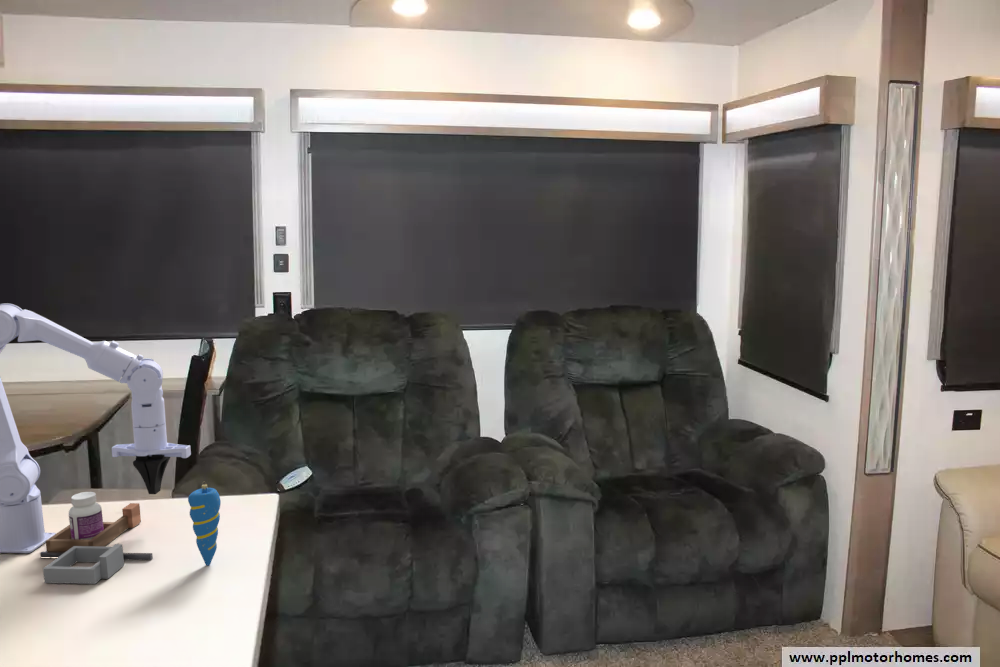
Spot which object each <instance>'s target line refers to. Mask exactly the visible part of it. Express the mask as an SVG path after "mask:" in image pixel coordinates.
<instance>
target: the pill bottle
mask: <svg viewBox="0 0 1000 667" xmlns="http://www.w3.org/2000/svg"><path fill="white" fill-rule="evenodd" d="M70 499H71V500H70V501H71V505H72V507H70V509H68V510H69V511H68V521H69V525H70V530H71V539H81V540H91V539H92V538H94V537H95V536H96V535H98V534H99V533H100V532H102V531H103V530H104V527H103V522H104V519H103V518H104V517H103V510H102V506H101V504H100V503H98V502H97V494H96V492H94V491H83V492H79V493H75V494H74V495H72V496H71V498H70Z"/></svg>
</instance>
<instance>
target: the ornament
mask: <svg viewBox="0 0 1000 667" xmlns="http://www.w3.org/2000/svg"><path fill="white" fill-rule="evenodd" d="M203 483H204V482H202V485H201V488H198V489H196V490H195V489H194V491H192V492H191V493H190V494H189V495H188V498H187V500H188V504H189V506H190V509H189V517H190V519H191V521H192V522H193V524H192V530H193V532H194V534H195V536H196V539H195V542H196V546H197V548H198V551H199V553H200V555H201V557H202V560H203V562H204V564H205V565H206V566H210V565H211V564H212V560H213V559H214V557H215V554H216V551H217V548H218V546H217V545H218V544H217V539H218V536H219V529H218V525H219V522H220V519H221V518H220V516H221V515H220V512H219V511H220V509H221V497H220V494H219V492H218V490H217V489H216V488H213V487H208V484H207V483H205V484H203Z"/></svg>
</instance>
